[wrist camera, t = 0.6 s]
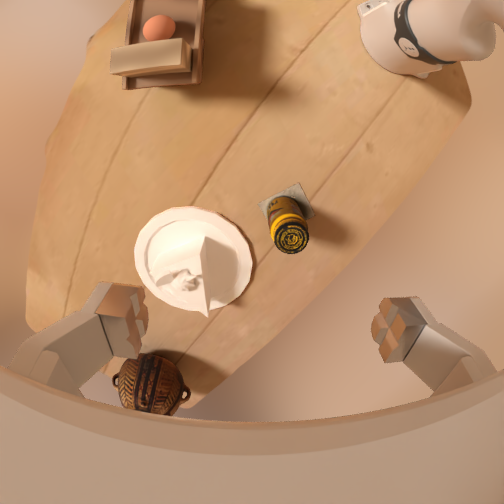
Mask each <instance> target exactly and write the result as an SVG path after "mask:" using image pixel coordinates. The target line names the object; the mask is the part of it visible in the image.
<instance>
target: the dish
mask: <svg viewBox="0 0 504 504" xmlns="http://www.w3.org/2000/svg"><path fill="white" fill-rule="evenodd" d="M134 254H135V265H136V269H137V271H138V273H139V275H140V277H141V279H142V281H143V283H144V284H145V285H146V286H147V288H148V289H149V290H150V291H151V292H152V293H153V294H154V295H155V296H156V297H158V298H159V299H161V300H163V301H165V302H166V303H168V304H170V305H171V306H174V307H178V308H182V309H185V310H189V311H200V312H201V313H203V314H204V315H205V316H207V317H208V315H209V310H212V309H216V308H219V307H222V306H226V305H227V304H229V303H230V302H231V301H233V300H234V299H236V298H237V297H238V296H240V295H241V293H242V292H243V290H244V289H245V287H246V285H247V284H248V282H249V281H250V275H251V269H252V264H253V262H252V257H251V253H250V249H249V245H248V242H247V240H246V239H245V237H244V236H243V235H242V233H241V232H240V230H239V229H238V228H237V226H236V225H235V224H233V223H232V222H230V221H229V220H228V219H226V218H225V217H223V216H222V215H220V214H219V213H217V212H214V211H211V210H207V209H204V208H200V207H196V206H188V207H174V208H170V209H168V210H166V211H164V212H162V213H160V214H158V215H155V216H154V217H153V218H152V219H151V220H150V221H149V222H148V223H147V224H146V225H145V227H144V228H143V229H142V230H141V231H140V233H139V236H138V239H137V242H136V245H135V248H134Z"/></svg>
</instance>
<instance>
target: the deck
mask: <svg viewBox="0 0 504 504" xmlns="http://www.w3.org/2000/svg"><path fill="white" fill-rule="evenodd" d="M205 6H206V0H131V1H130V7H129V14H128V21H127V29H126V37H125V46H127V45H132V44H138V43H144V42H150V41H148V40H147V39H146V38H145V37H144V35H143V27H144V25H145V23H146V22H147V21H148V20H149V19H150V18H152V17H154V16H157V15H166V16H169V17H170V18H172V19H173V21H174V22H175V32H174V34H173V35H172V37H171V38H169V39H176V38H183V39H184V40H185V41H186V42H187V43H188V44H189V46H190V47H191V48H192V49H193V59H192V72H180V73H167V74H157V75H148V76H140V77H133V78H130V77H124V76H122V89H123V90H133V89H140V88H149V87H159V86H171V85H188V84H199V83H201V82H202V66H203V51H204V39H203V26H204V16H205Z"/></svg>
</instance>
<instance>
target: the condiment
mask: <svg viewBox="0 0 504 504" xmlns="http://www.w3.org/2000/svg"><path fill="white" fill-rule="evenodd" d="M291 196H292V197H295V198H292V197H291ZM258 205H259V207H260V209H261V210H262V212H263V214H264V215H265V217H266V219H267V220H268V224H269V228H270V234H271V237H272V239H273V241H274V243H275V245H276V247H277V248H278V249H279V250H280V251H282V252H284V253H287V254H295V253H298V252H300V251H302V250H303V249H304V248H305V247H306V245H307V243H308V240H309V233H308V226H307V223H306V221H305V220H307V219H309V218H311V217H313V216H315V214H314V212H313V210H312V208H311V206H310V204H309V202H308V200H307V198H306V196H305V194H304V192H303V190H302V188H301V186H300V184H299V183H297V184H295V185H293V186H291V187H290V188H287V189H285V190H284V191H282V192H280V193H277V194H275V195H274V196H272V197H270V198H268V199H266V200H264V201H262V202H260V203H259V204H258Z"/></svg>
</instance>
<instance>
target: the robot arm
mask: <svg viewBox="0 0 504 504" xmlns="http://www.w3.org/2000/svg"><path fill="white" fill-rule="evenodd" d="M367 6H368V7H369V8H370V9H369V8H368V7H367ZM357 10H358V13H359V16H360V18H361V27H360V31H361V38H362V41H363V43H364V46H365V48H366V49H367V51H368V53H369V54H370V55H371V57H372V58H373V59H374V60H375V61H376V62H377V63H378V64H379V65H381V66H382V67H383V68H385V69H387V70H389V71H391V72H393V73H396V74H411V75H414V76H416V77H418V78H421V79H424V78H427V76H428V75H429V73H430V72H434V71H439V70H441V69H442V66H443V65H449V64H452V63H455V62H457V61H473V60H474V61H475V60H476V61H479V60H483V59H485V58H487V57H489V56H490V55H491V54H492V52H493V51H494V48H495V43H496V33H495V27H494V23H496V24H498V25H499V26H500V27H501V29H503V31H504V0H369V1H366V2H364V3H361V4H359V5H358V6H357ZM493 22H494V23H493ZM144 299H145V292H144V288H143V287H142V286H136V285H128V284H121V283H112V282H104V281H102V282H99V283H98V285H97V286H96V288H95V289H94V291H93V292H92V294H91V295H90V297H89V298H88V300H87V301H86V303H85V305H84V306H83V308H82V309H81V311H75V312H73V313H71V314H70V315H68V316H66V317H64V318H63V319H61V320H59V321H57V322H56V323H54V324H52V325H50V326H49V327H47V328H45V329H43V330H42V331H40V332H38V333H36V334H35V335H33V336H31V337H30V338H28V339H26V340H25V341H23V343H22V344H21V346H20V348H19V349H18V351H17V352H16V354H15V356H14V357H13V359H12V361H11V363H10V364H9V366H8V368H5V367H3V366H1V365H0V504H504V369H503V370H501V371H499V372H497V371H496V369H495V367H494V366H493V364H492V363H491V361H490V360H489V358H488V357H487V355H486V354H485V352H484V351H483V350H482V349H480V348H479V347H477V346H476V345H474V344H473V343H471V342H470V341H468V340H467V339H465V338H463V337H462V336H460V335H459V334H457V333H456V332H454V331H453V330H451V329H449V328H448V327H446V326H445V325H443V324H442V323H438V322H437V321H436V320H435V318H434V317H433V316H432V314H431V312H430V311H429V310H428V308H427V307H426V306H425V304H424V303H423V302H422V300H421V299H420V298H419V297H417V296H416V297H405V298H404V297H403V298H384V299H383V300H382V301H381V303H380V305H379V309H380V312H379V313H378V314H377V315H376V316H374V319H373V322H372V326H371V332H372V337H373V339H374V341H375V342H377V343H378V344H379V345H380V347H379V352H380V354H381V356H382V358H383V361H384V363H392V362H400V361H403V363H404V364H405V365H406V366H407V367H409V368H410V369H411V370H412V371H413V372H414V373H415V374H416V375H417V376H418V377H419V378H420V379H421V380H422V381H423V382H425V383H426V384H427V385H428V386H429V387H430V388H431V389H432V390H433V391H434V393H433V394H432V395H431V396H430V397H429V398H427V399H423V400H419V401H416V402H412V403H408V404H404V405H400V406H396V407H391V408H387V409H382V410H377V411H372V412H367V413H360V414H354V415H348V416H341V417H333V418H325V419H315V420H302V421H284V422H228V421H211V420H198V419H188V418H179V417H172V416H165V415H158V414H152V413H146V412H141V411H136V410H131V409H126V408H121V407H116V406H113V405H109V404H105V403H101V402H97V401H93V400H90V399H86V398H85V397H84V396H83V394H82V393H81V391H80V390H79V388H80V387H81V386H82V385H83V384H84V383H85V382H86V381H87V380H89V379H90V378H91V377H92V376H93V375H94V374H95V373H96V372H97V371H99V370H100V369H101V368H102V367H103V366H104V365H105V364H106V363H108V362H109V361H110V360H111V359H112V358H113V356H117V357H124V358H131V359H137V358H138V355H139V352H140V349H141V346H142V342H141V337H143V336H144V335H145V334H146V331H147V327H148V309H147V306H146V305H145V304H144V303H143V301H144Z"/></svg>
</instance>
